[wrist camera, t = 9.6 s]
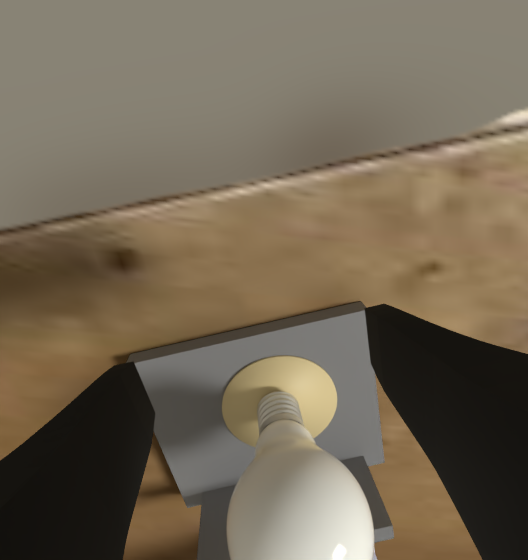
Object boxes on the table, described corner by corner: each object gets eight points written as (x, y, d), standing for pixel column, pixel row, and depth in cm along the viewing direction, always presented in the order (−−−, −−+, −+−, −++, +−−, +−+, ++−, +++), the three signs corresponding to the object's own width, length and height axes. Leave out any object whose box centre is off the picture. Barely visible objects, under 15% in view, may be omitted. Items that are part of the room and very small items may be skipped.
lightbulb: (223, 437, 23) (217, 667, 13) (232, 356, 21) (235, 558, 11) (315, 440, 24) (377, 657, 14) (333, 363, 22) (423, 554, 12)
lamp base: (378, 451, 27) (418, 534, 21) (189, 494, 27) (178, 589, 21) (361, 301, 22) (406, 356, 16) (130, 354, 22) (93, 428, 16)
